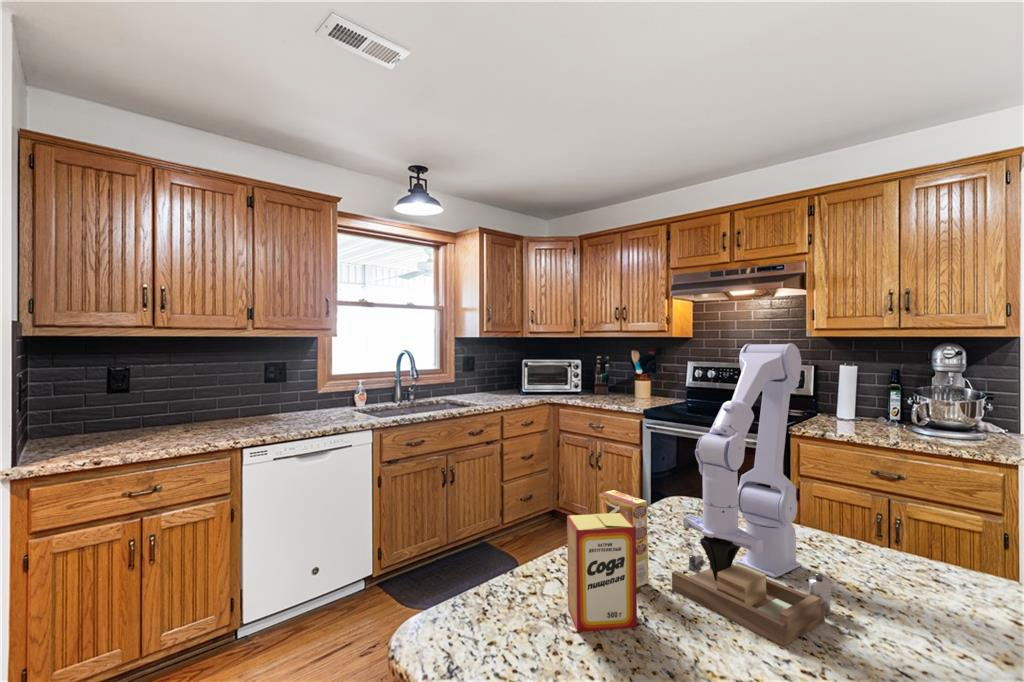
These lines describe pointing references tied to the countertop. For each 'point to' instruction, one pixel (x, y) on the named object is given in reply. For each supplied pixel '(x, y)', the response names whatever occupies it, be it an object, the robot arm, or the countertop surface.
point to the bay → (757, 606)
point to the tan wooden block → (743, 584)
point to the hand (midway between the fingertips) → (721, 579)
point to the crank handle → (694, 561)
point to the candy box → (637, 516)
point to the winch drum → (820, 590)
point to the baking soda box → (601, 572)
